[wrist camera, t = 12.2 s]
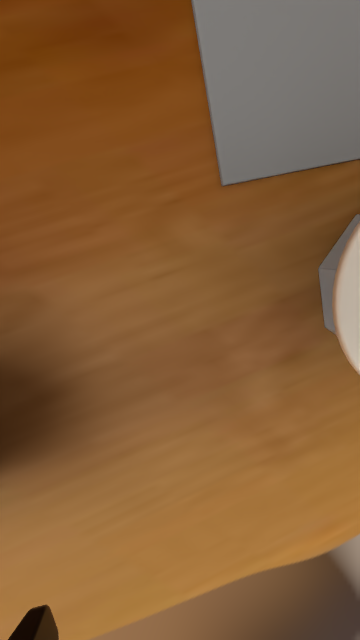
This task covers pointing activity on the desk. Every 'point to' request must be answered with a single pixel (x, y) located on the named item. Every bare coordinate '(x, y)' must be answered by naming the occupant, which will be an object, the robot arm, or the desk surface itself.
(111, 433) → the desk surface
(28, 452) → the desk surface
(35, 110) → the desk surface
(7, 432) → the desk surface
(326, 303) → the bowl
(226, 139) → the mat
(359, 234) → the lid
